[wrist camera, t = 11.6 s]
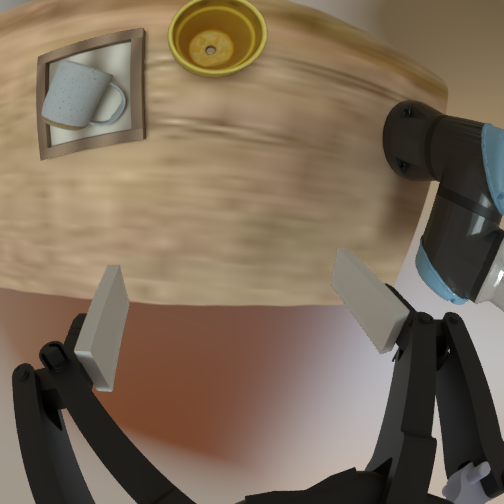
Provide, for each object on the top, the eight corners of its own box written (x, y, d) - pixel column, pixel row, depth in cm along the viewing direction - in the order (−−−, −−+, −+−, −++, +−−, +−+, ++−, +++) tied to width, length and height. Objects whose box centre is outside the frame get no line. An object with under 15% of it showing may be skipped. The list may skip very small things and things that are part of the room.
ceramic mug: (52, 116, 27) (26, 119, 20) (76, 62, 24) (53, 54, 17) (112, 138, 31) (96, 144, 24) (139, 83, 28) (127, 75, 22)
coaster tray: (145, 32, 25) (143, 27, 23) (145, 138, 33) (143, 139, 31) (44, 58, 22) (37, 56, 20) (47, 157, 30) (40, 160, 28)
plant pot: (233, 94, 33) (248, 87, 24) (161, 74, 29) (152, 60, 21) (258, 33, 29) (281, 11, 20) (188, 12, 25) (190, -17, 17)
